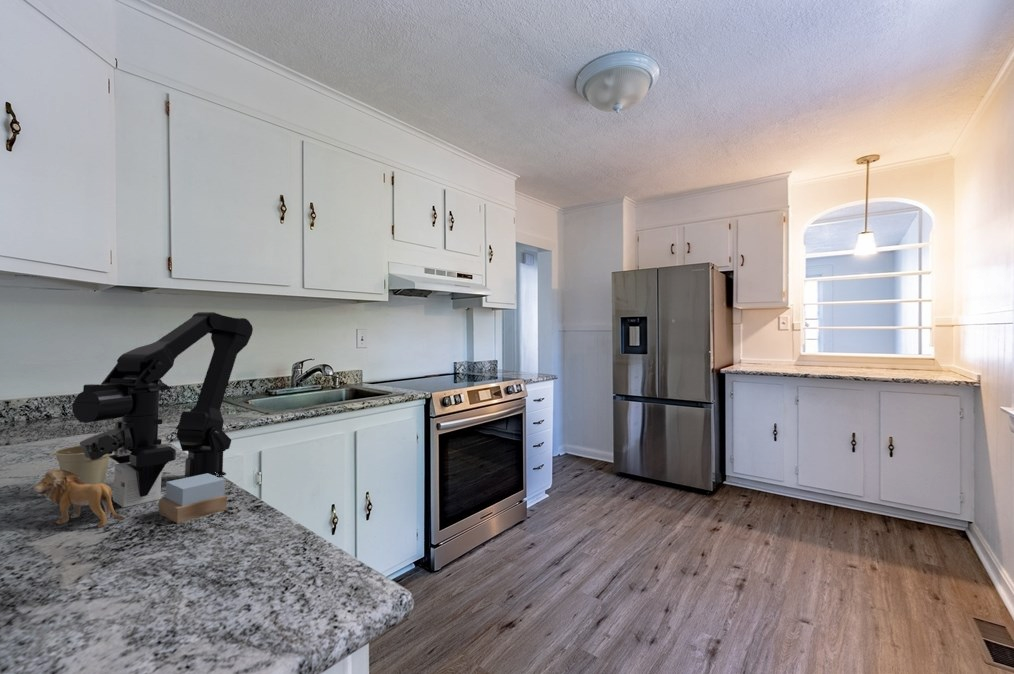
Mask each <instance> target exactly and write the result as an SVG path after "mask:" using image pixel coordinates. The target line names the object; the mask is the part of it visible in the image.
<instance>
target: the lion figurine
mask: <svg viewBox="0 0 1014 674" xmlns="http://www.w3.org/2000/svg"><path fill="white" fill-rule="evenodd" d="M32 487H33V490H34V491H35V492H36V493H37V494H36V495H37V496H39V497H41V496H43V495H44V496H45V497H46V498H47V499H50V500H52V502H53V504H55V505H59V512H60V514H61V519H58V520H57V521H56V524H57V525H61V524H65V523H66V524H67V522H69V520H70V519H76V518H78V517H80V515H81V507H82V506H89V508H90V510H91V511H92V512H93V513H94V514H95V516H97V517H98V519H99V520H100V521H99V522H98V523H97V524H96V526H97V528H101V527H105V526H107V524H108V519H110V518H111V515H112V516H113V517H115V519H116V520H118V521H124V520H126V519H127V518H126V516H123V515H121V514H118V513H116V511H115V509H114V506H113V502H112V495H113V493H112V488H111V487H110V486H109V485H108V484H106V483H104V484H103V483H101V484H85V483H84V482H83V481H82V480H81V478H80V477H79V476H78V475H74V473H71V472H69V471H65V470H60V468H59V469H58V468H57V469H52V470H48V471H46V472H45V473H44V477H43V478H42V479H41V481H40V482H39V483H37V484H36V485H34V486H32ZM101 503H102V504H101ZM71 505H72V506H73V508H72V509H73V511H72V513H71V514H69V509H70V506H71ZM102 506H103V508H104V510H103V508H102Z"/></svg>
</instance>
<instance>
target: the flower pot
mask: <svg viewBox="0 0 1014 674" xmlns="http://www.w3.org/2000/svg"><path fill="white" fill-rule="evenodd" d="M53 455H55V457H56V461H57V462H58V465H59V469H60V470H65V471H69V472H71V473H74V475H78V476H79V477H80V478H81V480H82V481H83V482H84V483H85V484H101V483H103V484H105V481H106V476H107V470H108V466H109V460H110V457H109V456H111V455H112V454H105V455H103V457H101V458H99V459H95V460H91V459H90V458H86V456H85V454H84V452H83V450H82V447H81V445H75V446H70V447H69V446H68V447H65V448H61V449H57V450H55V451H53Z"/></svg>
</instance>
